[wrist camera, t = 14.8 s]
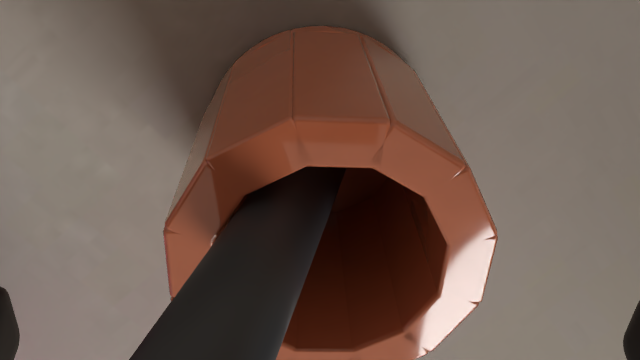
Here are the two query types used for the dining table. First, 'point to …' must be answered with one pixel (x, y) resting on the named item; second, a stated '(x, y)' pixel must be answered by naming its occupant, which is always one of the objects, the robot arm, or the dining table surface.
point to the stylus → (249, 275)
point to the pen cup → (343, 193)
